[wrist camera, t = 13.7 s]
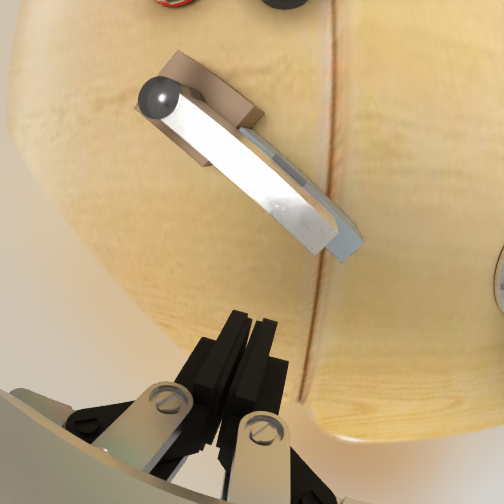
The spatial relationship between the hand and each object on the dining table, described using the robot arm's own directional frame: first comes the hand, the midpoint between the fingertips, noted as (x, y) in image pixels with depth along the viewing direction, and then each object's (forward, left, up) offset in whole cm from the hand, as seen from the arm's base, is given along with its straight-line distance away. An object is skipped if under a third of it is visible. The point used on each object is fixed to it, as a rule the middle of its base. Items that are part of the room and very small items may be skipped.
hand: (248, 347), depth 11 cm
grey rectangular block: (+2, -3, -18) cm, 19 cm away
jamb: (+12, -3, -18) cm, 22 cm away
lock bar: (+6, -3, -13) cm, 14 cm away
